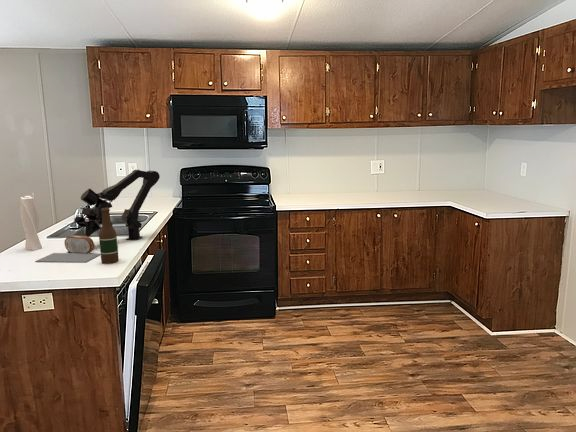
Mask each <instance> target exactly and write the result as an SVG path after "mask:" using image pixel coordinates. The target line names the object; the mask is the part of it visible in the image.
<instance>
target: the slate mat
mask: <svg viewBox="0 0 576 432" xmlns="http://www.w3.org/2000/svg"><path fill="white" fill-rule="evenodd" d="M99 256H100V257H101V253H95V252H94V253H92V252H90V253H71V252H52V253H50V254H48V255H46V256H44V257H42V258H40V259H37V260H35V263H81V264H82V263H83V264H85V263H88V262H90V261H92V260H94V259H96V258H97V257H99Z"/></svg>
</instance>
